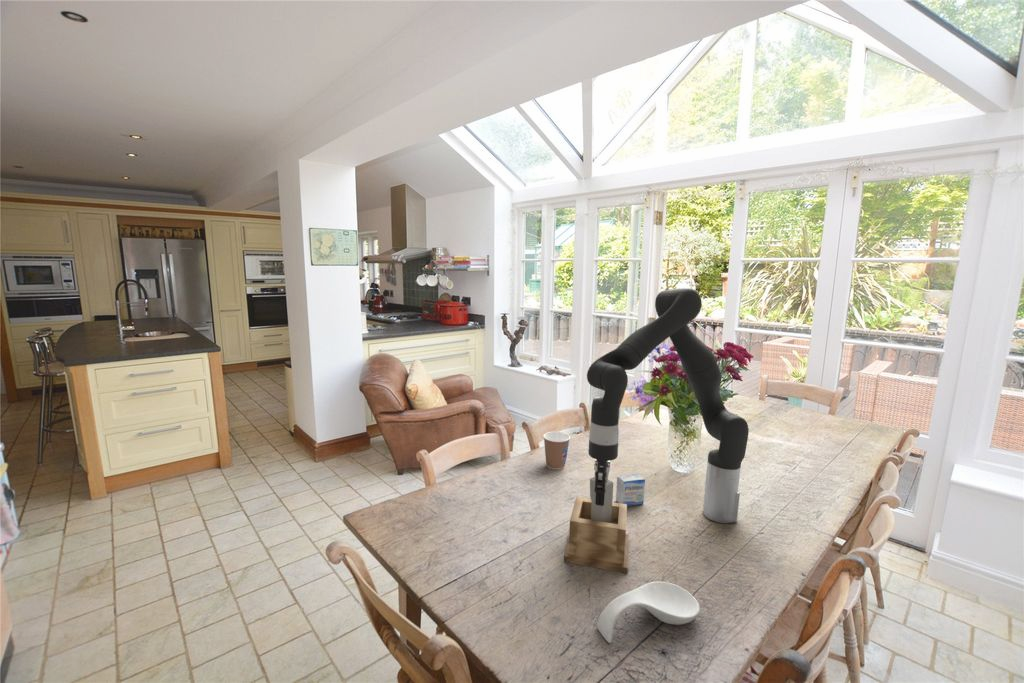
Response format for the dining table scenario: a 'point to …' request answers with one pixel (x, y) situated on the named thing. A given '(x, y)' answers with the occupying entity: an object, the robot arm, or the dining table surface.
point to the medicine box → (630, 490)
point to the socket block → (598, 538)
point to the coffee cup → (556, 449)
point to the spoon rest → (651, 605)
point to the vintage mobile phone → (604, 511)
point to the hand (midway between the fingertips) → (600, 498)
